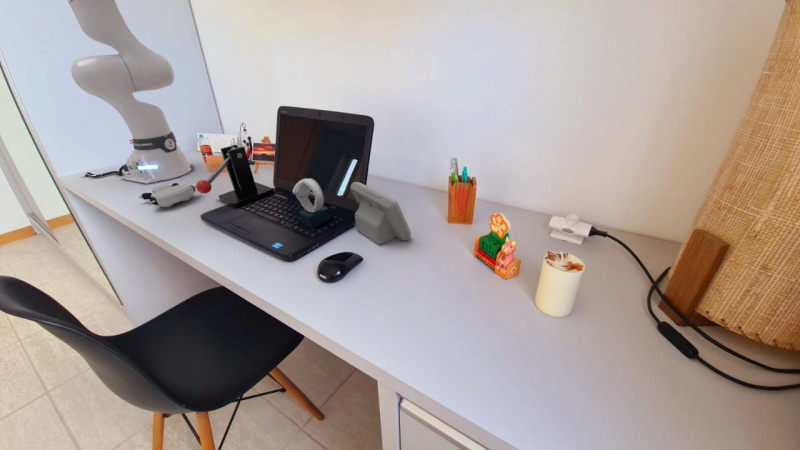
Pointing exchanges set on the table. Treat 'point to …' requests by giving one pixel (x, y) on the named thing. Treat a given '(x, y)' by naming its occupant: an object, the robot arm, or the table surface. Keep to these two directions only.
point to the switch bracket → (242, 179)
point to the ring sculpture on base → (311, 213)
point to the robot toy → (169, 194)
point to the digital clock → (378, 215)
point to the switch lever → (212, 177)
